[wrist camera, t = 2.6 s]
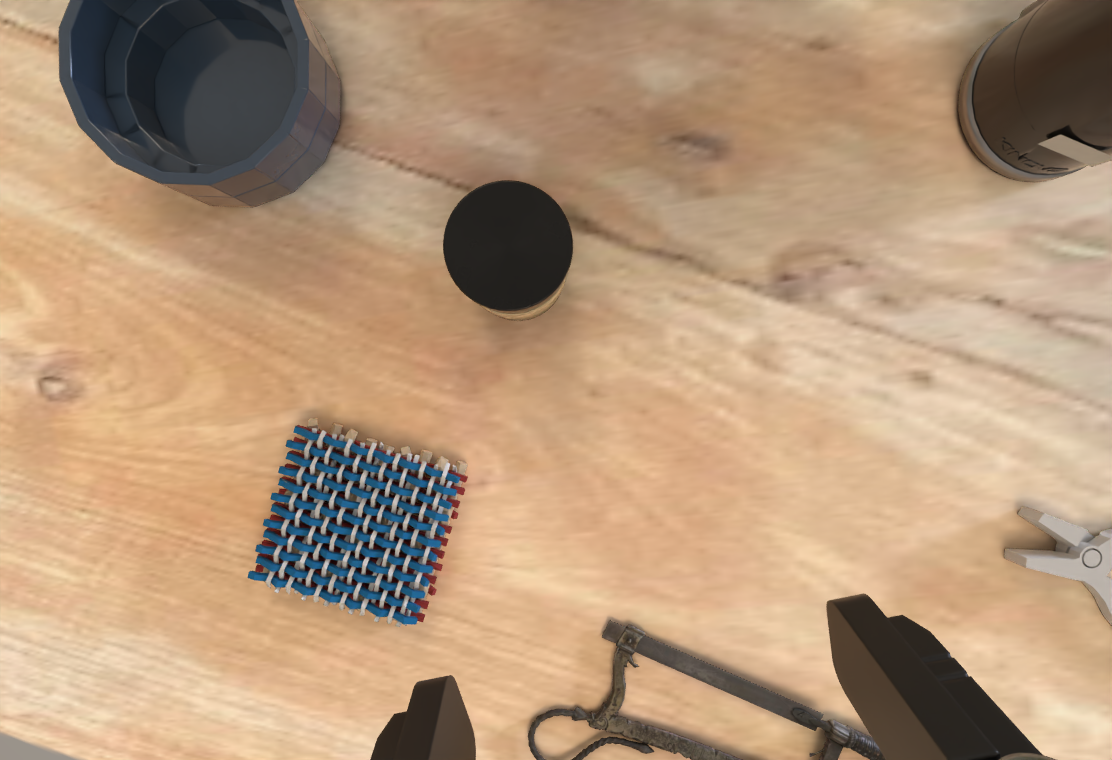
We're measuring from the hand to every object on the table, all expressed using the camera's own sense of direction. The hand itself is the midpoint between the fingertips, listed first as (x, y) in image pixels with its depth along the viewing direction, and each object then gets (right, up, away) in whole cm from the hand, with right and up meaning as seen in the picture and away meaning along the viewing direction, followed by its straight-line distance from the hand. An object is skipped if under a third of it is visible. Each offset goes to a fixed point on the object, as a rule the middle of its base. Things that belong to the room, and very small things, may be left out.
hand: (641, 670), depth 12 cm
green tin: (-4, +12, +22) cm, 25 cm away
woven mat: (-13, -2, +22) cm, 26 cm away
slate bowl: (-20, +22, +21) cm, 37 cm away
